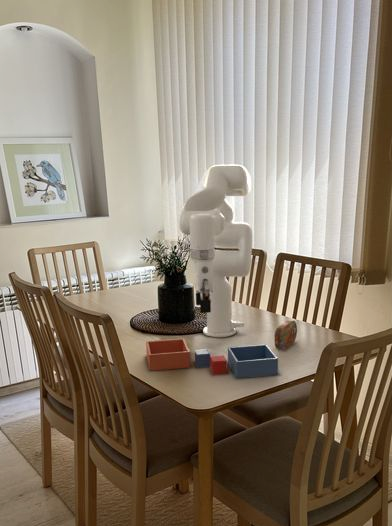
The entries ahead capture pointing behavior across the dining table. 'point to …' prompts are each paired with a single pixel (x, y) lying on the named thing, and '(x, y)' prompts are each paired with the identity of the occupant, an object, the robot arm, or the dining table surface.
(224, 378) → the dining table surface
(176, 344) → the terracotta bin
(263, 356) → the blue bin
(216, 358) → the red block
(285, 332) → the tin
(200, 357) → the blue block
